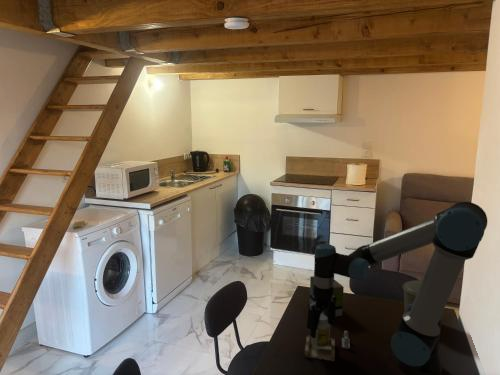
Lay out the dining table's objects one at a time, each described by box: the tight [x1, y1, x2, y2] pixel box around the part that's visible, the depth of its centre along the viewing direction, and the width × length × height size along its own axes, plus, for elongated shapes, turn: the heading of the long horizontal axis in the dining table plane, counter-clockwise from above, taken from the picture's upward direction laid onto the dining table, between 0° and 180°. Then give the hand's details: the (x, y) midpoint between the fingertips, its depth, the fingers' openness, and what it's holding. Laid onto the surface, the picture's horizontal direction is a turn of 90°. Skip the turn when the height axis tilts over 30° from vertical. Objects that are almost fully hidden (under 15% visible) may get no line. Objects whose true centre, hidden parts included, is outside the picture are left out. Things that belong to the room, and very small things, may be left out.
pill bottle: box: [317, 314, 329, 348], centre depth 144 cm, size 6×6×11 cm
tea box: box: [309, 275, 345, 318], centre depth 177 cm, size 15×10×15 cm
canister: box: [401, 279, 423, 313], centre depth 165 cm, size 18×18×21 cm
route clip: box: [341, 330, 351, 350], centre depth 150 cm, size 3×6×4 cm, turn 168°
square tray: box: [304, 334, 336, 362], centre depth 145 cm, size 11×11×3 cm
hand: (320, 341), depth 145 cm, fingers closed on pill bottle, 6 cm apart
